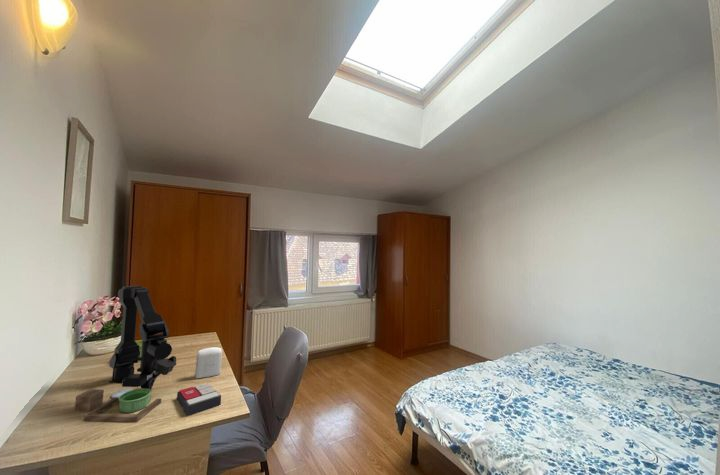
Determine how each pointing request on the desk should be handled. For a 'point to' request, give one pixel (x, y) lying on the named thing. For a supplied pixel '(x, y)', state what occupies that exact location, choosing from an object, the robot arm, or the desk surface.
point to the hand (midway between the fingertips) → (147, 394)
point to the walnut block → (89, 400)
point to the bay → (99, 416)
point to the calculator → (198, 398)
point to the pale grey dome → (121, 392)
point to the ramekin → (134, 400)
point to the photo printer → (208, 362)
